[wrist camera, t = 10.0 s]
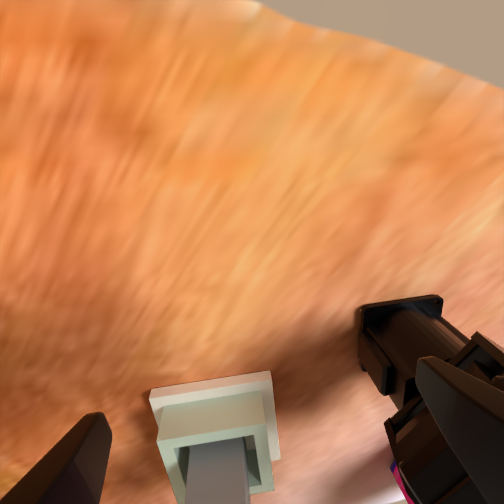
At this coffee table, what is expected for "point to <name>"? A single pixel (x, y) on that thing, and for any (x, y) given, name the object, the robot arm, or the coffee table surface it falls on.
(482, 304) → the coffee table surface
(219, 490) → the peg
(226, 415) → the socket block
